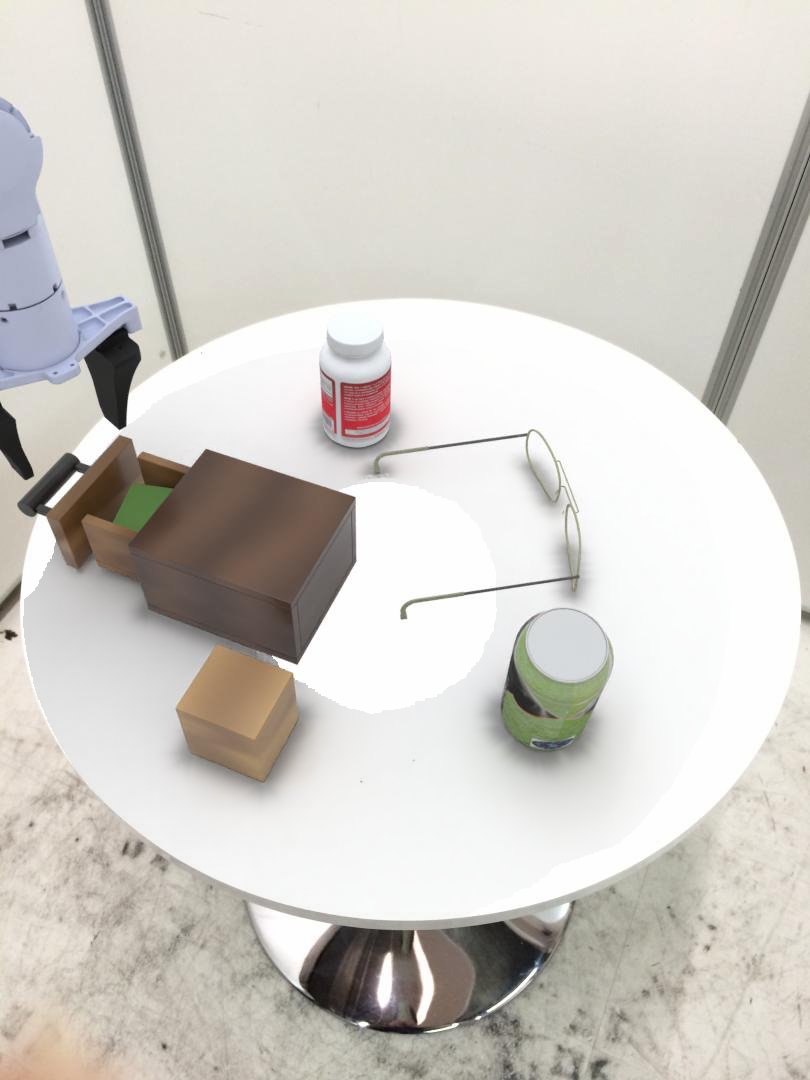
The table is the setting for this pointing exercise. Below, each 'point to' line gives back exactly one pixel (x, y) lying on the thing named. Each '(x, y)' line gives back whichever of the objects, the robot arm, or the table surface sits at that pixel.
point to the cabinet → (247, 554)
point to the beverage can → (555, 677)
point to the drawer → (98, 503)
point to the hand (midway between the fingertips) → (70, 445)
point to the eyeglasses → (377, 470)
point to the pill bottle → (355, 380)
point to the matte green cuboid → (140, 505)
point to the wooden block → (239, 712)
